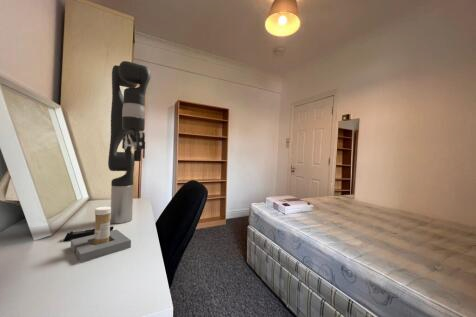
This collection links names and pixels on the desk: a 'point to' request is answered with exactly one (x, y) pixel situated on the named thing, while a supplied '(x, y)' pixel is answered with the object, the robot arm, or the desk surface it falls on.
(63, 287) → the desk surface
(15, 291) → the desk surface
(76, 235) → the electric trimmer
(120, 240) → the holder plate
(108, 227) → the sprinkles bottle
